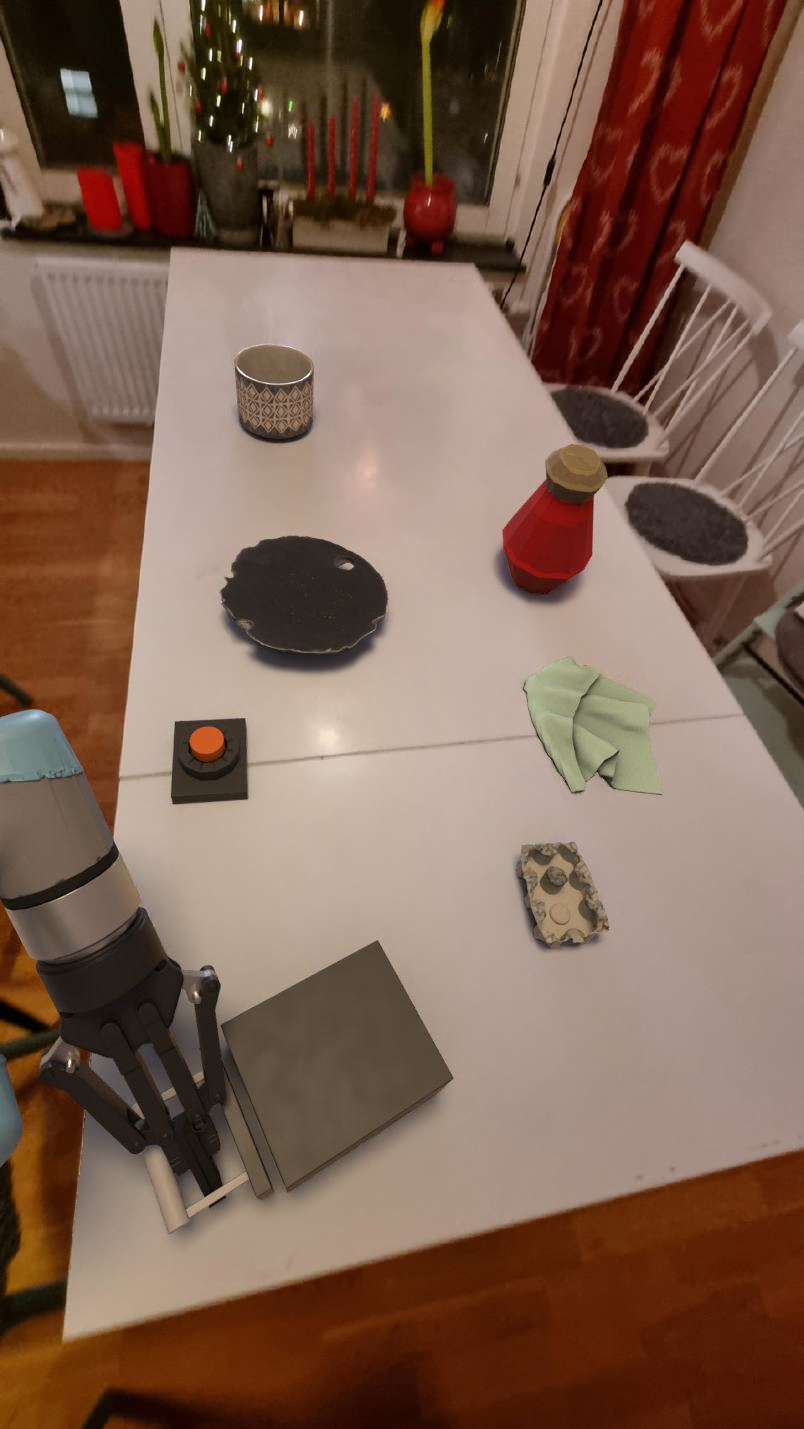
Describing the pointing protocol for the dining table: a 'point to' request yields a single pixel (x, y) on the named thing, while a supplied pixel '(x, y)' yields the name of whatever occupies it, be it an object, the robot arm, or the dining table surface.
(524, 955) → the dining table surface
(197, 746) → the button
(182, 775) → the control block
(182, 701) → the dining table surface
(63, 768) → the robot arm
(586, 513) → the bottle
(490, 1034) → the dining table surface
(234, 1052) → the grey drawer box
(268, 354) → the planter
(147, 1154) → the open sliding drawer
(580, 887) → the egg carton
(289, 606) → the board
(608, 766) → the cloth
